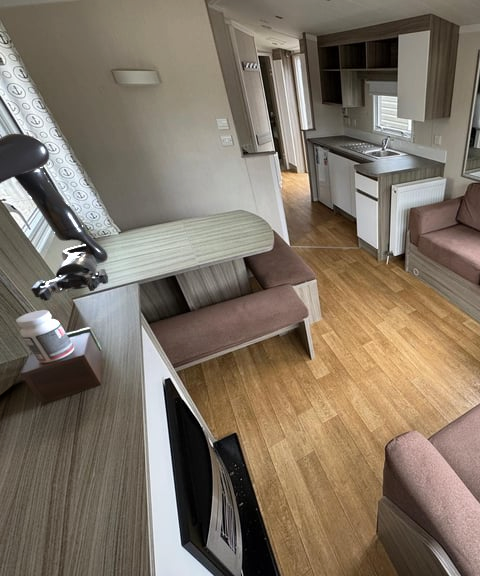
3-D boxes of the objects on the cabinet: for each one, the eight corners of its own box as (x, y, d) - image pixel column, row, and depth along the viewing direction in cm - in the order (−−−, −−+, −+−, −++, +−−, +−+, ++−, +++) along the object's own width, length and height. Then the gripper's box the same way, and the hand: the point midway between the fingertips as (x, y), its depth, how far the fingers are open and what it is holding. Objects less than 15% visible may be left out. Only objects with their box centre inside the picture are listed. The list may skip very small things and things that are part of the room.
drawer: (58, 358, 76) (45, 336, 73) (102, 346, 81) (90, 324, 78) (50, 383, 69) (34, 359, 66) (98, 367, 73) (85, 344, 70)
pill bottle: (79, 344, 69) (57, 306, 64) (69, 358, 64) (45, 318, 60) (45, 351, 66) (20, 312, 62) (32, 367, 62) (5, 326, 57)
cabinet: (52, 376, 72) (33, 347, 68) (104, 360, 77) (89, 332, 73) (42, 404, 64) (20, 373, 60) (101, 384, 69) (84, 354, 65)
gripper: (36, 265, 82) (19, 286, 71) (104, 254, 90) (98, 271, 78) (50, 290, 86) (36, 314, 74) (114, 277, 93) (110, 297, 81)
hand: (68, 292), depth 76 cm, fingers open, 8 cm apart
